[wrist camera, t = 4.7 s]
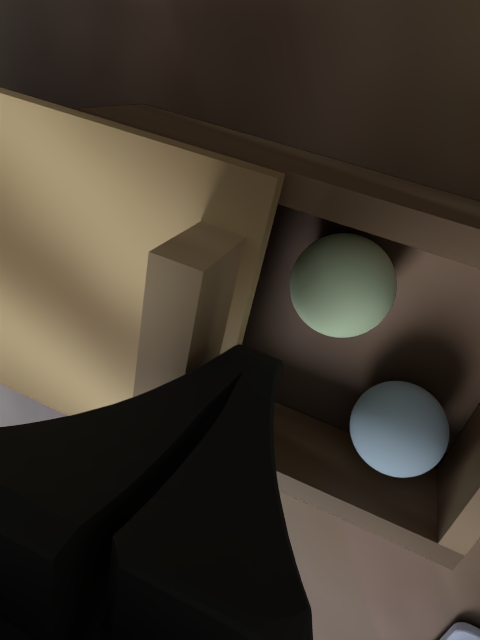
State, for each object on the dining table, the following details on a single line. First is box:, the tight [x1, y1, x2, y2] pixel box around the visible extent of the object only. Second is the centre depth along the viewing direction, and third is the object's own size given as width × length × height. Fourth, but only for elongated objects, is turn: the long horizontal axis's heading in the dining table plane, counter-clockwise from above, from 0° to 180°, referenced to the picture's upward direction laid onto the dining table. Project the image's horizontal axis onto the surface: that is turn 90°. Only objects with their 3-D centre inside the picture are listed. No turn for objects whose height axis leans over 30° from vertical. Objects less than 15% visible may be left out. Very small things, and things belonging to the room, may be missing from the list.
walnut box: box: [78, 104, 480, 570], centre depth 14 cm, size 10×14×3 cm
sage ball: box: [290, 233, 397, 338], centre depth 13 cm, size 3×3×3 cm
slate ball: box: [350, 381, 449, 478], centre depth 14 cm, size 3×3×3 cm
